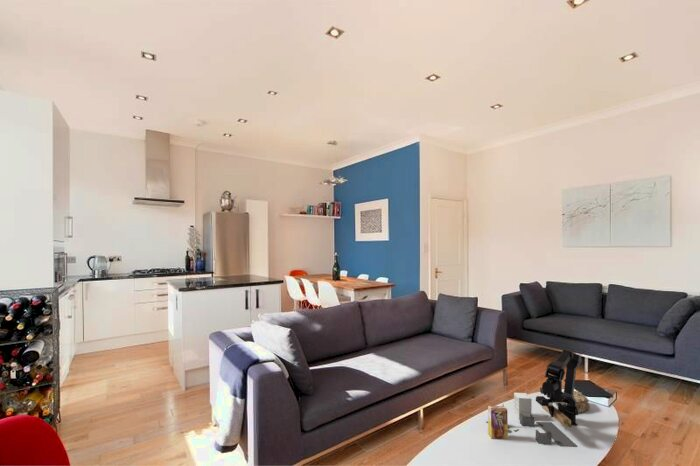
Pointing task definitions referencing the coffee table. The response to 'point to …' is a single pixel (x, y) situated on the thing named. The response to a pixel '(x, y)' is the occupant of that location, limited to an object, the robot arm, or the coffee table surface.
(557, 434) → the mat
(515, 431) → the eiffel tower figurine
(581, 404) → the rock
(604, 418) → the coffee table surface
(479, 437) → the coffee table surface
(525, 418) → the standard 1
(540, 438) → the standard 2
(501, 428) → the candy box
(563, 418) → the rail
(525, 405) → the supplement box
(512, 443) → the coffee table surface
